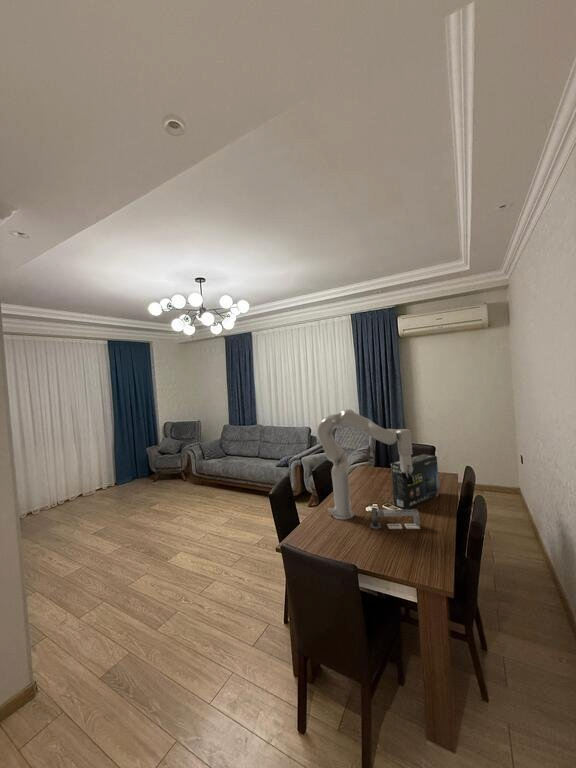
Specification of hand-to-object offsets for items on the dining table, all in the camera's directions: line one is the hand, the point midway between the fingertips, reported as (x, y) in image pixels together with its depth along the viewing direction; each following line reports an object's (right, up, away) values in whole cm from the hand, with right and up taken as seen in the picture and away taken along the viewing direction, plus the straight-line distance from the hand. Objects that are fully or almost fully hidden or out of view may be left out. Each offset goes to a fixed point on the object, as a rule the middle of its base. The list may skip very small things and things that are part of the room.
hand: (407, 481), depth 172 cm
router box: (+16, -21, +26) cm, 37 cm away
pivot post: (-20, -23, -6) cm, 31 cm away
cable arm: (-8, -20, -8) cm, 23 cm away
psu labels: (-6, -22, -8) cm, 24 cm away
